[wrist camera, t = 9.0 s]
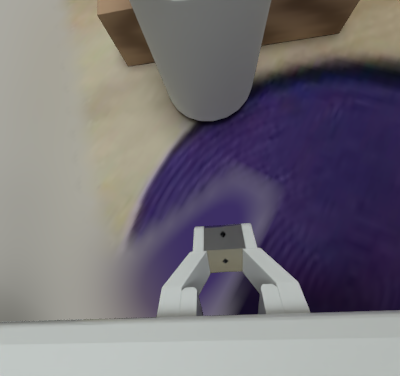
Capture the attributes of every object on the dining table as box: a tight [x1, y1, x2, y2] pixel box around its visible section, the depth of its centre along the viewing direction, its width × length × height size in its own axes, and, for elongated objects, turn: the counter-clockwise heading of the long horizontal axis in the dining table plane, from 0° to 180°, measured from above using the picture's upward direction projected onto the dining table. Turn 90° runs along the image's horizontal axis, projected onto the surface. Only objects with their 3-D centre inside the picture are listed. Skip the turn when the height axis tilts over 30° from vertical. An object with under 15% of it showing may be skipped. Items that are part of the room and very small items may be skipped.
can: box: [129, 0, 271, 121], centre depth 12 cm, size 8×8×12 cm
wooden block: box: [97, 0, 359, 66], centre depth 17 cm, size 20×4×5 cm, turn 94°
